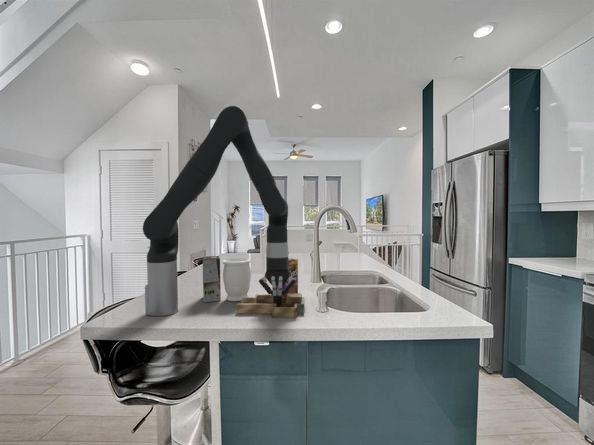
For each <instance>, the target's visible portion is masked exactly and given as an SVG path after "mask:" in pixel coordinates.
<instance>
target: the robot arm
mask: <svg viewBox="0 0 594 445" xmlns="http://www.w3.org/2000/svg"><path fill="white" fill-rule="evenodd" d="M230 144H232V145H233V146H234V148H235V149H236V150H237V152H238V153H239V155H240V158H241V159H242V162H243V164H244V167H245V170H246V172H247V174H248V176H249V178H250V180H251V182H252V184H253V186H254V188H255V190H256V191H257V193H258V196H259V199H260V201H261V204H262V206H263V208H264V210H265V212H266V214H267V215H268V225H267V227H266V228H267V229H266V247H265V248H266V249H265V268H266V270H265V273H264V276H263V277H260V279H259V280H258V282H259V284H260V285H261V286H262V288H263V289H264V290H265V291H266V293H267V294H271V295H273V304H276V307H281V306H280V305H281V304H282V295H284V294H287V292H288V291H289V290H290V288H291V287H292V286H293V285H294V283H295V282H296V279H295V278H292V277H291V276H290V273H289V269H288V259H289V255H290V254H289V252H290V251H289V245H288V244H289V243H288V242H289V241H288V216H289V205H288V202H287V200H286V199H285V198H284V197H283V196H282V194H281V192H280V190H279V188H278V187H277V184H276V181H275V180H276V179H275V178H274V176H273V173H272V172H271V170H270V168H269V166H268V164H267V163H266V161H265V160H264V158H263V156H262V155H261V153H260V151H259V150H258V148H257V146H256V144H255V142H254V139H253V136H252V133H251V130H250V127H249V121H248V118H247V115H246V114H245V112H244V110H243V109H242V108H241V107H239V106H237V105H229V106H227V107H225V108H223V109H222V110H221V112H220V113H219V114H218V116H217V117H216V119H215V121H214V122H213V125H212V127H211V129H210V130H209V132H208V134H207V135H206V137H205V139H204V140H203V141H202V142H201V143H200V145H199V146H198V148H197V149H196V150H195V152H193V154H192V156H191V157H190V158H189V160H188V161H187V162H186V164H185V165H184V166H183V168H182V170H180V172H179V174H178V176H177V177H176V179H175V180H174V182H173V183H172V185H171V186H170V187H169V189H168V191H167V192H166V194H165V195H164V197H163V199H161V201H160V202H159V203H158V204H157V205H156V206H155V207H154V208H153V210H152V211H151V212H150V213H149V214H148V215H147V216H146V218H145V220H144V221H143V222H142V224H143V225H142V232H143V235H144V236H145V238H146V239H147V240H150V241H149V244H150V245H149V249H148V252H147V254H146V267H147V269H146V271H147V272H146V273H147V284H145V286H144V301H145V303H144V304H145V305H144V306H145V307H144V308H145V316H146V315H147V316H148V315H149V316H152V317H163V316H164V317H165V316H170V315H173V314H175V313H177V312H179V289H178V288H179V285H178V252H179V224H178V220H179V218H180V217H181V215H182V214H183V212H184V211H185V210H186V208H188V206H190V205H191V203H192V202H194V201H195V200H196V199H197V198H198V197H199V196H200V195H201V194H202V193H203V192H204V190H205V189H206V188H207V186H208V185H209V183H210V182H211V181H212V179H213V178H214V176H215V175H216V173H217V171H218V169H219V166H220V163H221V161H222V159H223V158H222V157H223V155H224V153H225V151H226V149H227V148H228V146H229V145H230ZM288 278H289V281H288V282H289V284H288V286H287V287H286V288H285V289H284V290H282V289H283V285H284V284H285V282H286V281H287V280H288ZM268 283H269V284H270V285H271V287H270V285H269V284H268ZM277 285H278V295H277Z"/></svg>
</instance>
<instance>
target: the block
mask: <svg viewBox="0 0 594 445" xmlns="http://www.w3.org/2000/svg"><path fill="white" fill-rule="evenodd" d="M302 297H303V292H302V293H301V292H298V293H287V296H286V306H285V307H294V304H301V302H302Z"/></svg>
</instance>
